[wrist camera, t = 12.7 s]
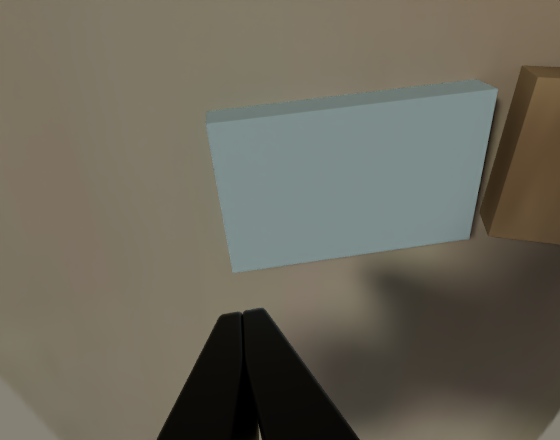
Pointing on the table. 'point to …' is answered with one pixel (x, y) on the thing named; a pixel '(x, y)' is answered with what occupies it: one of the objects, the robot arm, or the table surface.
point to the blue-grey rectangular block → (350, 172)
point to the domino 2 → (528, 163)
